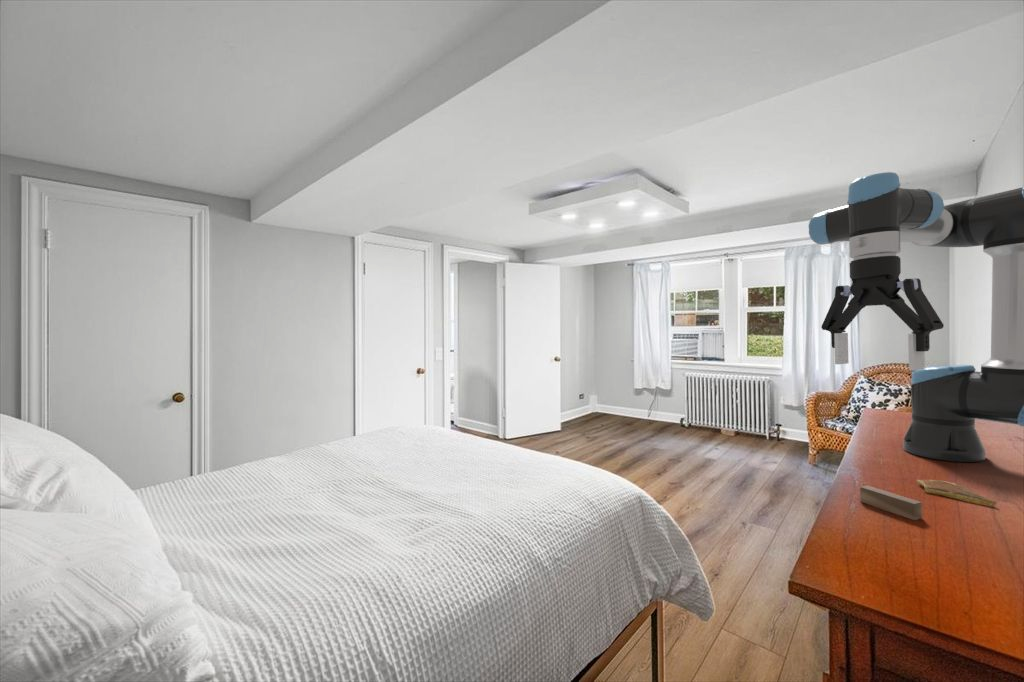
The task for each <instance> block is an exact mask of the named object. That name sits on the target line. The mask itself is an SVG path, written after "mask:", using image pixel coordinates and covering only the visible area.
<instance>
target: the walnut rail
mask: <svg viewBox="0 0 1024 682" xmlns="http://www.w3.org/2000/svg"><path fill="white" fill-rule="evenodd" d="M859 491H860V492H859V493H860V498H859V499H860V503H864V504H867V505H870V506H872V507H875V508H878V509H880V510H883V511H886V512H890V513H892V514H895V515H898V516H901V517H905V518H907V519H910V520H913V521H917V520H921V519H923V516H922V515H923V513H922V511H923V507H922V506H923V505H922V504H923V503H922V501H919V500H917V499H916V500H915V499H913V498H910V497H906V496H902V495H899V494H897V493H893V492H890V491H887V490H883V489H880V488H877V487H873V486H871V485H863V486H862V485H861V486H859Z"/></svg>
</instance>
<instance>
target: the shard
mask: <svg viewBox="0 0 1024 682" xmlns="http://www.w3.org/2000/svg"><path fill="white" fill-rule="evenodd" d="M916 482H917V483H918V485H920V486H921V487H923V490H924V493H927V494H933V495H938V496H943V497H948V498H951V499H955V500H960V501H964V502H966V503H967V502H968V503H973V504H976V505H980V506H981V505H982V506H986V507H993V508H994V507H995V505H997V502H996V501H993V500H992V499H989V498H987V497H985V496H983V495H981V494H979V493H977V492H976V491H973V490H972V489H970V488H967V487H966V486H963V485H961V484H958V483H956V482H950V481H945V480H938V479H923V478H921V479H916Z"/></svg>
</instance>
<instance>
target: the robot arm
mask: <svg viewBox="0 0 1024 682" xmlns="http://www.w3.org/2000/svg"><path fill="white" fill-rule="evenodd" d="M846 204H847V205H844V206H840V207H836V208H833V209H826V210H824V211H822V212H819V213H816V214H814V215H813V216H812V217H811V218H810V220H809V222H808V235H809V238H810V239H811V240H812V242H814V243H815V244H817V245H827V244H830V245H831V244H833V243H836V242H848V244H849V258H851V259H853V260H851V261H850V262H849V278H850V280H851V285H837V286H836V287H835V289H834V290H835V291H834V297H833V300H832V302H831V304H830V306H829V309H828V310H827V313H826V316H825V317H824V320H823V322H822V324H821V329H822V330H823V331H827V332H830V335H831V338H830V339H831V347H832V349H834V365H847V364H849V363H850V361H849V332H847V331H846V329H847V327H848V326H849V325H850V324H851V322H853V320H854V319H855V318H856V316H858V314H859V313H860V312H861V311H862V310H863V309H864V308H865V307H866V306H867V307H871V306H873V307H874V306H886V307H888V308H889V309H890V310H891V311H892V312H893V313H895V314H896V316H898V318H899V319H900V320H901V321H902V322H903V323H904V324H905V325H907V327H908V329H910V330H912V331H911V333H907V336H908V337H907V338H908V339H907V340H908V341H907V342H908V345H907V346H908V347H907V348H908V371H912V372H911V377H910V378H911V379H910V380H911V381H910V384H909V385H910V390H911V392H910V394H911V395H910V398H911V401H910V402H911V404H910V405H911V407H910V408H911V422H910V425H909V427H908V429H907V431H906V434H905V436H904V438H903V442H902V445H903V450H904V451H906V452H907V453H909V454H912V455H915V456H919V457H923V458H927V459H934V460H941V461H946V462H947V461H948V462H957V463H976V462H978V463H979V462H983V461H985V460H986V450H985V447H984V445H983V442H982V441H981V438H980V436H979V434H978V432H977V430H976V427H975V426H976V424H975V422H976V421H975V420H976V419H977V420H982V421H989V422H998V423H1002V424H1011V425H1018V426H1020V427H1024V186H1023V187H1018V188H1014V189H1010V190H1005V191H1001V192H998V193H993V194H989V195H988V194H987V195H985V196H979V197H974V198H969V199H966V200H962V201H959V202H953V203H949V204H946V205H945V203H944V200H943V198H942V196H941V195H939V193H937V192H935V191H931V190H926V189H924V188H922V189H921V188H915V189H914V188H904V187H903V188H901V183H900V177H899V175H898V174H897V173H896V172H892V171H890V172H889V171H886V172H878V173H874V174H869V175H865V176H862V177H859V178H856V179H855V180H854V181H852V182H851V183H850V184H849V185H848V194H847V203H846ZM904 242H905V243H907V242H908V243H911V244H914V245H915V246H919V247H939V248H972V247H979V246H983V248H982V251H983V252H984V254H986V255H988V256H990V257H991V258H992V263H991V264H992V272H991V275H992V276H991V325H990V327H991V328H990V358H989V359H988V360H986V361H985V362H983V363H982V364H980V371H976V368H975V365H971V364H958V365H957V364H955V365H937V366H925V362H926V361H925V360H926V359H925V358H926V357H925V356H926V355H925V352H928V351H929V350H930V349H931V348H930V334H931V333H932V332H933V331H937V330H942V329H943V328H945V327H944V323H943V321H942V320H941V318H940V317H939V315H938V313H937V312H936V310H935V309H934V308H933V306H932V304H931V302H930V301H929V299H928V297H927V296H926V295H925V293H924V291H923V288H922V281H921V279H920V278H905V279H904V280H900V275H901V271H902V269H901V257H900V256H899V255H897V254H899V253H901V243H904ZM900 290H901V291H902V292H904V294H905V296H906V298H907V300H908V301H909V303H910V304H911V306H912V308H913V309H912V308H911V307H910V305H908V304H907V303H906V302H905V300H904V298H903V297H902V296H901V295H900V294H899V292H900ZM851 295H853V297H852V298H851V299H850V296H851ZM849 299H850V300H849ZM848 301H849V302H848ZM846 305H847V307H846Z"/></svg>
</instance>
